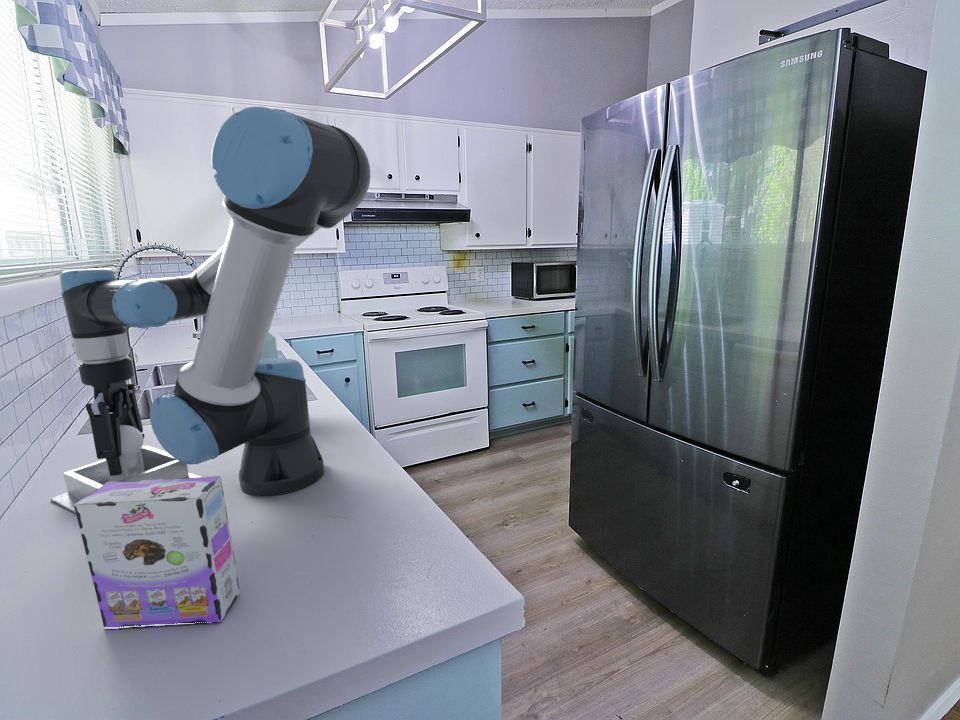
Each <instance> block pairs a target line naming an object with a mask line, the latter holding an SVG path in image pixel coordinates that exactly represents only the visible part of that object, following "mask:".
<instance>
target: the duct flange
mask: <svg viewBox="0 0 960 720" xmlns="http://www.w3.org/2000/svg"><path fill="white" fill-rule="evenodd" d="M141 453H142V458H143V463H144V468H145V472H142V473H140V474H137V475H134V476H131V477H129V478H126V479H123V480H121V481H141V480H158V479H178V478H196V477H201V476H199V475H197V474H194V473H191V472H189V468H188V464H185V463H182V462H180V461H178V460H176V459H175V458H173V457H172V456H171V455H170V454H168V453H167V452H166V451H165V450H161V449H158V448H157V447H156V448H155V447H153V446H149V445H143V446H142V449H141ZM63 477H64V482H65V486H66V490H67V492H64V493H60V494H58V495H56V496H53V497H50V501H51V502H52V503H54V504H56V505H57V506H58V505H59V506H60V507H62V508H64V509H66V510H68V511H69V512H72V513H73V514H75V515H76V512H75V508H74V505H75V504H76V503H77V502H79V501H80V500H82V499H83V498H85V497H86V496H88V495H89V494H90V493H92V492H93V491H95V490H96V489H98V488H99V487H101V486H102V485H104V484H105V483H107V482H110V477H109V473H108V468H107V463H106V459H100V460H97V461H95V462H92V463H88V464H87V465H83V466H80V467H77V468H74V469H71V470H68V471H65V472H63ZM118 482H119V481H118Z"/></svg>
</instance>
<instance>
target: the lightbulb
mask: <svg viewBox="0 0 960 720" xmlns="http://www.w3.org/2000/svg"><path fill="white" fill-rule="evenodd" d="M142 434H143V433H141V432H140V431H139V430H138V429H137V428H135V427H133V426H130V425H120V437H121V454H125V458H126V463H127V468H128V473H129V477H131V476H134V475H137V473H138V472H137V470H136V469H137V467H136V465H137V460H138V455H139V453H140V451H141V449H142V447H143V446H144V439H143V436H142Z"/></svg>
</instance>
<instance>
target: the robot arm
mask: <svg viewBox="0 0 960 720" xmlns="http://www.w3.org/2000/svg"><path fill="white" fill-rule="evenodd" d="M213 141H214V142H213V145H212V148H211V160H210V161H211V167H212V169H213V170H215V174H213V177H214V180H215V183H216V185H217V186H218V187H217V188H218V189H219V190H220V191H221V193H222V194H223V198H222V206H223V208H225V210H226V212H227V214H228V215H229V217H230V219H231V220H230V224H229V228H228V231H227V235H226V238H225V241H224V244H223V245H222V246H221V247H220V248H219V249H217V251H216V252H215V253H213V254H212V255H211V256H210V257H209V258H208V259H207V260H206V261H204V262H203V263H202V264H201V265H199V267H197V268H196V269H195V270H194V271H192V273H190V274H188V275H181V276H180V275H179V276H169V277H160V278H159V277H158V278H157V277H156V278H143V279H133V280H131V279H130V280H117V278H116V275H115V271H114V270H112V269H111V268H107V267H106V268H105V267H103V268H101V267H100V268H98V267H97V268H80V269H66V270H63V271H62V272H61V273H60V276H59V278H60V286H61V293H60V294H61V296H62V299H63V304H64V308H65V312H66V316H67V321H68V325H69V329H70V330H69V331H70V333H71V336H72V337H71V338H72V342H71V347H72V348H74V351H75V356H76V359H77V360H78V361H80V362H79V364H78V365H77V368H78V371H79V372H78V373H79V377H80V380H81V383H82V384H83V385H85V386H91V387H92V388H93V402H86V404H85V409H86V412H87V415H88V417H89V422H90V427H91V433H92V437H93V443H94V447H95V448H94V449H95V454H96V458H97V459H98V460H104V459H106V463H107V468H108V473H109V477H110V482H118V481H121V480H123V479H126V478H129V473H128V468H127V463H126V458H125V454H121V437H120V425H130V426H133V427H135V428H137V429H138V430H139V431H140V432H141V434H142V436H143V440H145V434H144V433H143V432H144V428H143V424H142V419H141V414H140V410H139V406H138V400H137V396H136V385H135V382H131V383H130V382H129V383H127V382H126V381H128V380H131V379H132V378H133V377H134V376H135V373H134V368H133V361H132V358H130V356H128V355H130V353H131V349H130V346H129V341H128V335H127V331H126V327H127V328H135V329H136V328H138V329H144V330H145V329H148V328H149V329H150V328H159V327H160V328H161V327H162V326H166V325H167V324H168V323H170V322H176V321H181V320H187V319H193V318H198V317H199V318H200V317H204V316H205V317H204V322H203V325H202V329H201V332H200V335H199V336H200V337H199V340H198V344H197V348H196V351H195V355H194V358H193V361H190V362H187V363H186V364H184V365H183V366H182V367H181V368H180V369H179V371H178V374H177V377H176V381H175V386H174V389H173V390H172V392H169V393H167V392H166V393H163V394H161V395H160V396H159V397H156V398H155V399H154V400H153V401H152V403H151V405H150V408H149V422H150V425H151V429H152V431H153V434H154V435H155V437H156V439H157V441H158V443H159V444H160V445H161V447H162V449H163V450H164V451H165V452H167V453H168V454H170V455H171V456H172V457H173V458H175V459H176V460H178V461H180V462H182V463H185V464H187V465H199V464H201V463H204V462H207V461H209V460H215V459H216V458H217V457H219V456H221V455H223V454H225V453H227V452H229V451H231V450H233V449H235V448H237V447H239V446H242V445H244V446H243V452H242V456H241V462H240V469H239V471H238V479H239V487H240V489H241V490H242V491H243V492H245V493H247V494H250V495H255V496H275V495H276V496H277V495H282V494H287V493H291V492H295V491H298V490H299V491H300V490H301V489H304V488H306V487H309V486H310V485H313V484H314V483H315V482H317V481H318V480H319V479H321V478H322V477H323V475H324V473H325V463H324V459H323V456H322V454H321V451H320V450H319V448H318V446H317V444H316V442H315V440H314V437H313V436H312V432H311V425H310V415H309V414H310V413H309V405H308V396H307V386H306V381H307V380H306V378H305V373H304V368H303V365H302V364H301V363H300V361H298V360H297V359H292V358H285V357H284V358H281V357H278V358H260V356H261V353H262V350H263V347H264V344H265V341H266V338H267V335H268V332H269V331H270V328H271V327H272V326H271V325H272V322H273V319H274V316H275V313H276V310H277V307H278V304H279V300H280V297H281V294H282V292H283V290H284V289H283V288H284V285H285V282H286V279H287V276H288V274H289V270H290V268H291V267H290V266H291V264H292V261H293V258H294V256H295V253H296V252H295V251H296V248H297V247H299V246H300V245H302V243H304V242H305V241H306V240H307V239H309V238H310V237H312V236H313V235H314V234H315V233H317V231H319V230H320V229H325V230H326V229H328V230H329V229H332V228H334V227H335V226H336V225H338V224H339V223H340V222H341V221H343V220H344V219H346V218H347V217H348V216H349V215H350V214H351V213H352V212H354V211H355V210H356V209H357V208H358V207H359V206H360V204H361V203H362V202H363V201H364V198H365V197H366V196H367V193H368V191H369V188H370V184H371V177H372V176H371V166H370V162H369V161H370V160H369V158H368V156H367V154H366V151H365V149H364V148H363V146H362V144H360V143H359V141H358V140H357V139H356V138H355V137H354V136H353V135H352V134H351V133H349V132H348V131H345V130H344V129H341V128H340V127H338V126H337V127H336V126H334V125H330V124H325V123H322V122H319V121H317V120H313V119H310V118H306V117H304V116H301V115H298V114H295V113H292V112H290V111H287V110H285V109H279V108H269V107H265V106H249V107H245V108H243V109H241V110H240V111H237V112H234V113H233V114H232V115H230V116H228V118H227V119H226V120H225V121H224V122H223V123H222V125H221V126H220V128H219V129H218V132H217V133H216V135H215V138H214V140H213ZM269 333H270V332H269ZM136 467H137V469H136V470H137V472H138V473H137V474H140V473H142V472H145V468H144V463H143V458H142V453H141V451H140V453H139V455H138V460H137V465H136Z"/></svg>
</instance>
